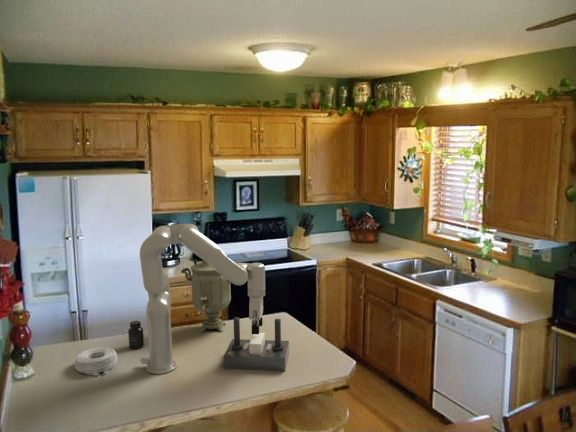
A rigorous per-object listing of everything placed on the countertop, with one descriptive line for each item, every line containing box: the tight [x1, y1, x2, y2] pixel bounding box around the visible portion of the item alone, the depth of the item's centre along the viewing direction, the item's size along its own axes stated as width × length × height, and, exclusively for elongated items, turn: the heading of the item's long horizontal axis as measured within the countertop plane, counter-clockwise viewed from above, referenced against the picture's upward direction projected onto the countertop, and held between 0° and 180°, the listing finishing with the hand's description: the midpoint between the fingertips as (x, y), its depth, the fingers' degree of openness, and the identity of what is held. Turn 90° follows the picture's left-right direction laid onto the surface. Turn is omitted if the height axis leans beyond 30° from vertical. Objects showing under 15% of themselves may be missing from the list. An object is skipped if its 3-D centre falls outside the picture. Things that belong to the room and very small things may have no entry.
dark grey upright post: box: [232, 317, 243, 350], centre depth 232 cm, size 5×5×13 cm
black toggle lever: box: [272, 318, 283, 351], centre depth 231 cm, size 5×5×13 cm
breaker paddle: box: [249, 332, 266, 355], centre depth 232 cm, size 5×13×7 cm, turn 175°
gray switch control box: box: [223, 338, 290, 372], centre depth 233 cm, size 26×18×7 cm
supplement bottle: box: [127, 320, 145, 350], centre depth 249 cm, size 7×7×12 cm
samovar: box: [180, 259, 232, 333], centre depth 268 cm, size 30×26×40 cm
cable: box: [74, 347, 118, 377], centre depth 229 cm, size 18×18×6 cm
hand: (257, 329), depth 231 cm, fingers open, 9 cm apart
